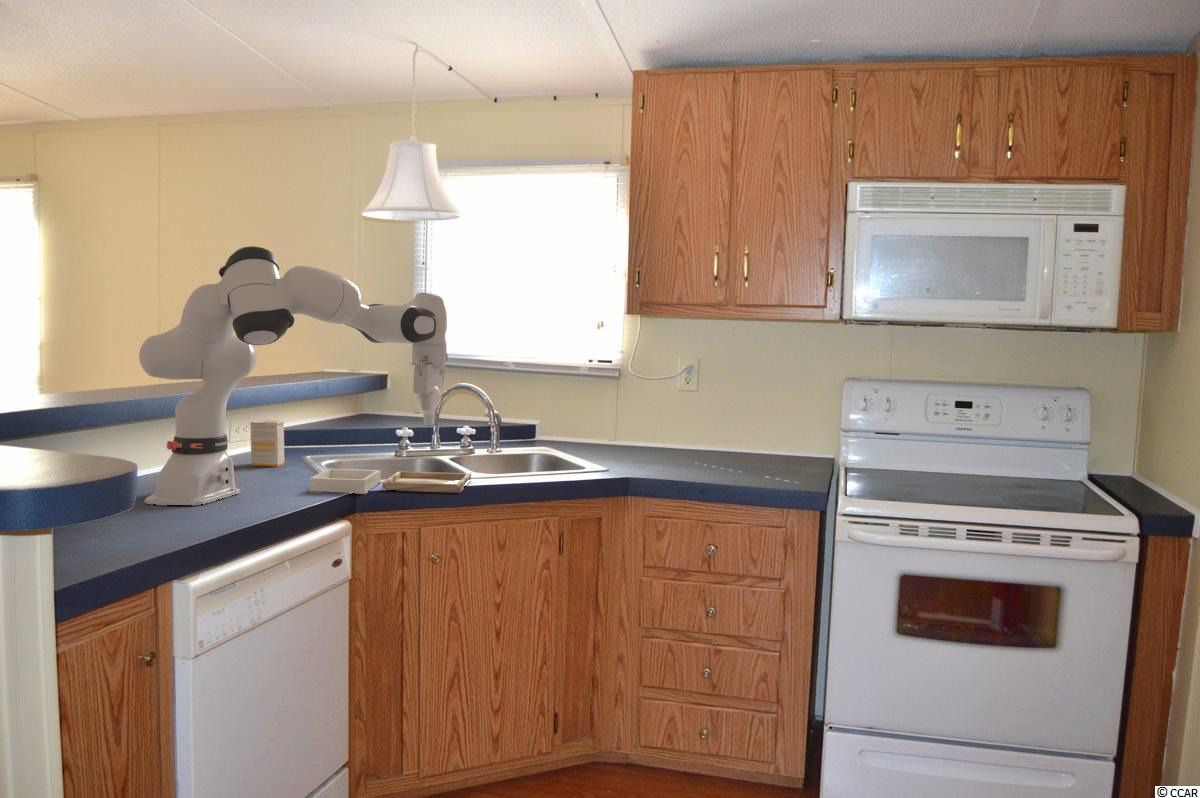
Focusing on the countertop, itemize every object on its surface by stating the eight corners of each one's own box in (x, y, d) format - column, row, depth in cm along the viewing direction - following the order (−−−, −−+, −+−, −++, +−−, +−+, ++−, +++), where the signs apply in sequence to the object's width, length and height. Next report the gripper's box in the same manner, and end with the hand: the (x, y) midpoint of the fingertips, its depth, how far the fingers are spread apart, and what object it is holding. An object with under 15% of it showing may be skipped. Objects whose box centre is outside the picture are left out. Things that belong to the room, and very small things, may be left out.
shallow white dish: (365, 493, 217) (365, 480, 217) (309, 492, 217) (309, 478, 217) (380, 483, 231) (380, 470, 231) (328, 481, 231) (328, 468, 231)
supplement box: (285, 464, 255) (284, 420, 254) (277, 467, 250) (277, 422, 249) (258, 463, 256) (257, 419, 254) (250, 466, 251) (249, 421, 250)
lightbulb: (430, 423, 233) (430, 383, 232) (445, 426, 229) (446, 384, 228) (411, 425, 228) (411, 383, 227) (426, 428, 224) (427, 385, 223)
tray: (460, 492, 222) (460, 484, 221) (382, 490, 222) (382, 482, 222) (470, 481, 238) (471, 473, 237) (398, 478, 238) (398, 471, 238)
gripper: (432, 357, 216) (431, 413, 217) (449, 354, 236) (448, 405, 238) (407, 357, 216) (406, 412, 217) (426, 353, 237) (425, 404, 238)
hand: (428, 408), depth 228 cm, fingers closed on lightbulb, 6 cm apart
